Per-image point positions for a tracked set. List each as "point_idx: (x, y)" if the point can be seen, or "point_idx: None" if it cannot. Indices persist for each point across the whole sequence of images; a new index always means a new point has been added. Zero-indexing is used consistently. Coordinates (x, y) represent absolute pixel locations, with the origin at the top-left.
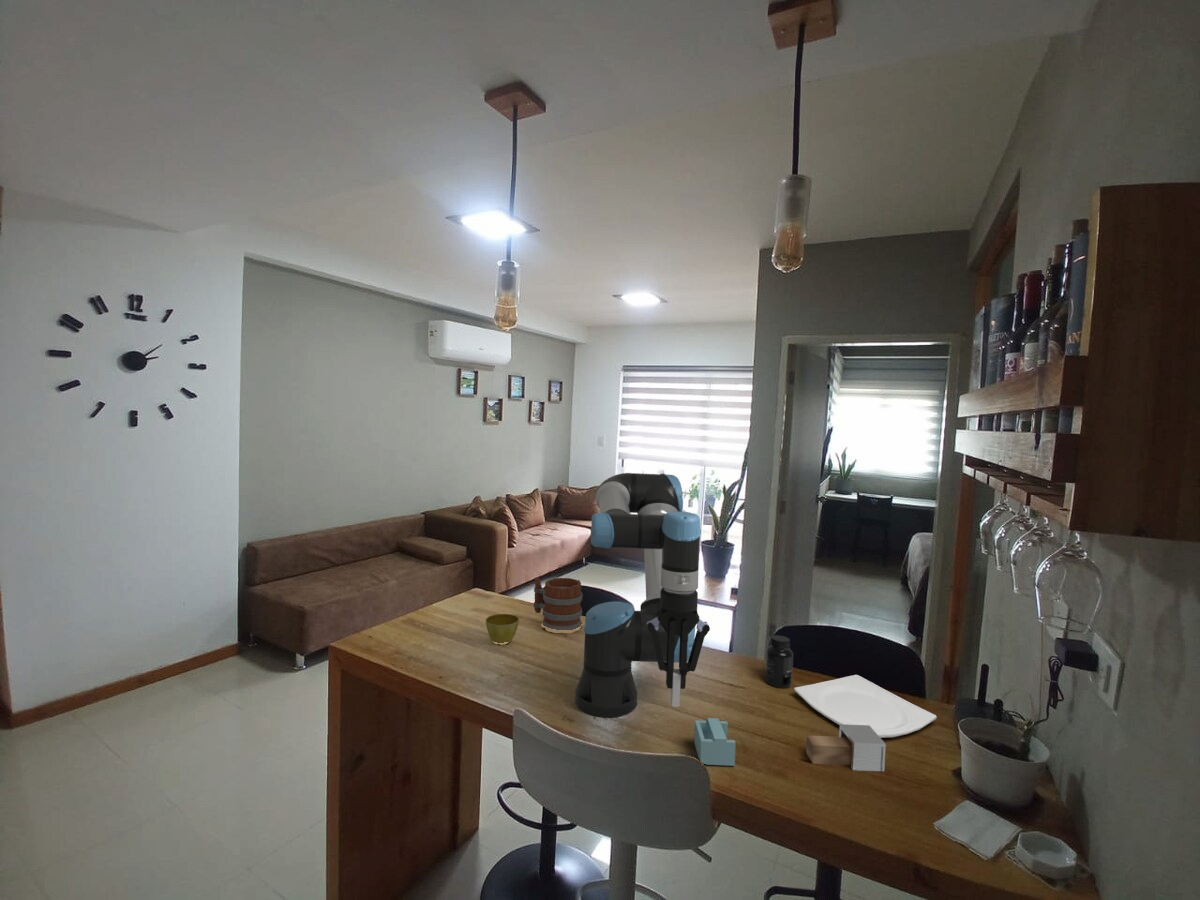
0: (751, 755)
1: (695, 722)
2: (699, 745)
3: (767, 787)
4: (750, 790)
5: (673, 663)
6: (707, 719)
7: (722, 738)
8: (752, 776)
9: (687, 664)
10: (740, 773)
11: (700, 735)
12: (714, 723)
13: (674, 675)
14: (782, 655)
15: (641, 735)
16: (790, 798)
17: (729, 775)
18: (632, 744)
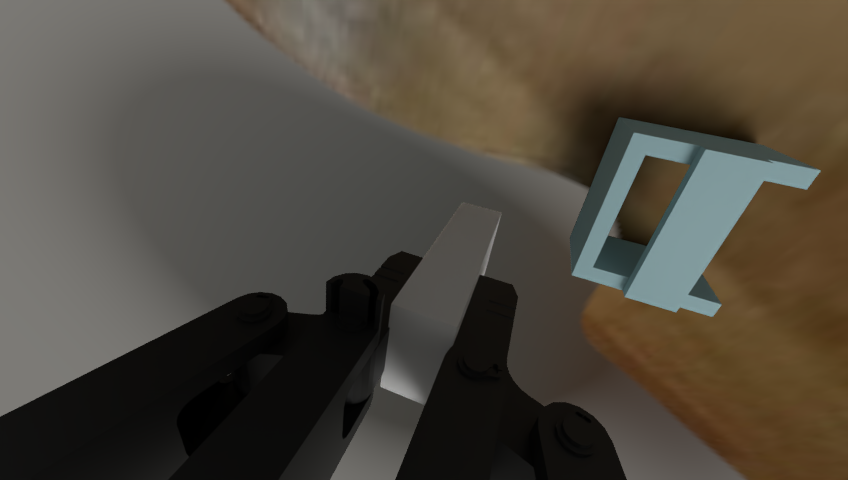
0: (815, 227)
1: (626, 147)
2: (581, 233)
3: (718, 356)
4: (655, 349)
5: (329, 471)
6: (701, 153)
7: (660, 304)
8: None
9: (499, 478)
10: None
11: (589, 243)
12: (709, 202)
13: (390, 387)
14: None
15: (435, 38)
16: (750, 402)
17: None
18: (396, 93)
